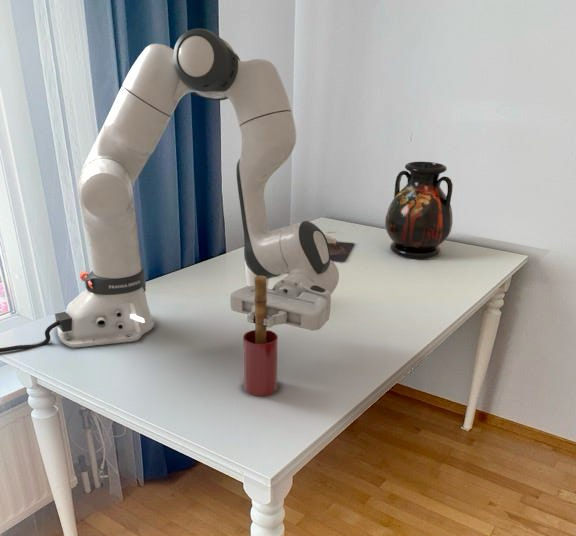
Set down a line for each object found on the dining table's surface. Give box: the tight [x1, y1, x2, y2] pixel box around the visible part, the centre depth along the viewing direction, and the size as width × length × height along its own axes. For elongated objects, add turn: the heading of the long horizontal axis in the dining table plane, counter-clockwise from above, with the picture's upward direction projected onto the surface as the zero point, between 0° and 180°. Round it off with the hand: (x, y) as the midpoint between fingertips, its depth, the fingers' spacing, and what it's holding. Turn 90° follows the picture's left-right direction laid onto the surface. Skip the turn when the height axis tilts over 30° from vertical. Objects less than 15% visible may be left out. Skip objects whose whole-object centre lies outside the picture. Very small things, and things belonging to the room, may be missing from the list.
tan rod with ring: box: [254, 276, 268, 344], centre depth 116 cm, size 2×2×21 cm
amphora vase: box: [384, 161, 453, 260], centre depth 194 cm, size 22×22×28 cm
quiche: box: [324, 234, 354, 263], centre depth 201 cm, size 21×20×4 cm
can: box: [242, 329, 279, 397], centre depth 120 cm, size 7×7×12 cm
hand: (258, 321), depth 115 cm, fingers closed on tan rod with ring, 2 cm apart
